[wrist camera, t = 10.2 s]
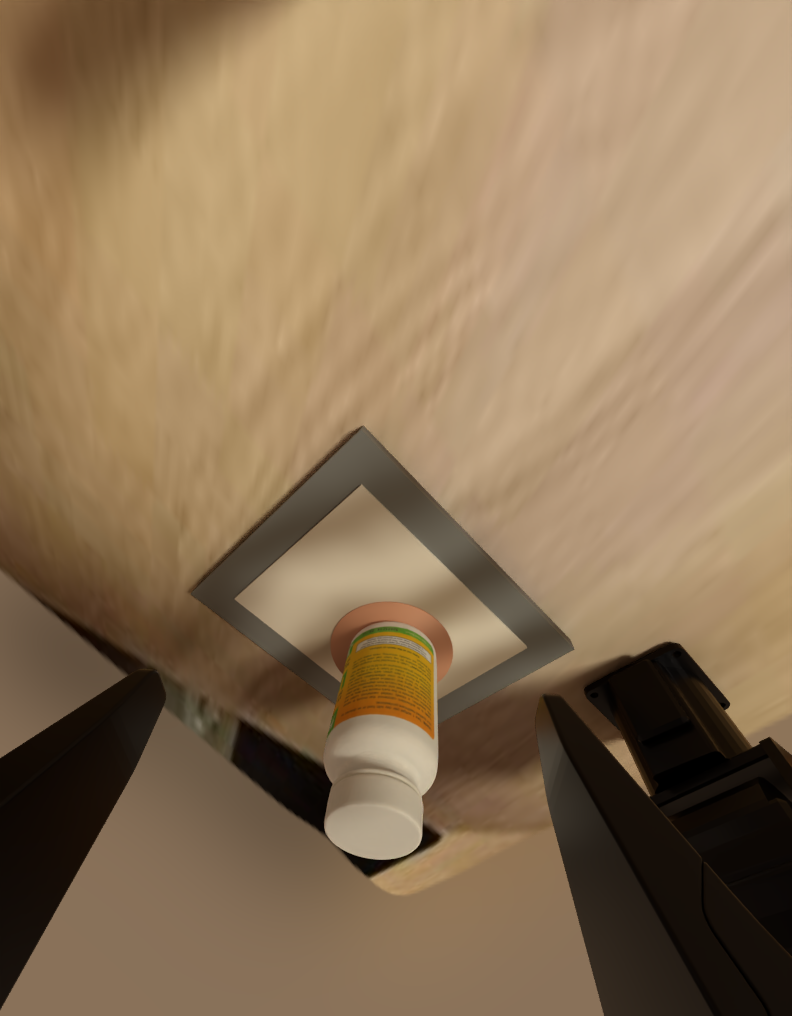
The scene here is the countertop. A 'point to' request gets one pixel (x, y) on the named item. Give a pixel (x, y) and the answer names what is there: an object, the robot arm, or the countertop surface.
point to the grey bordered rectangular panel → (379, 582)
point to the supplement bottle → (382, 742)
